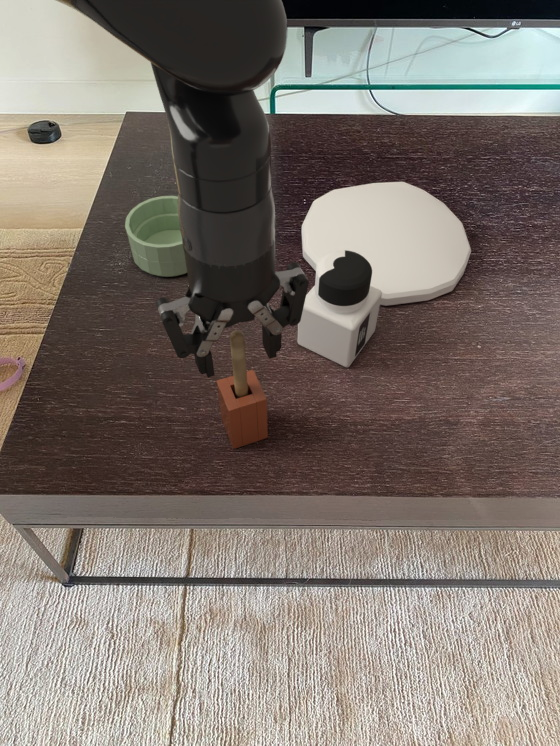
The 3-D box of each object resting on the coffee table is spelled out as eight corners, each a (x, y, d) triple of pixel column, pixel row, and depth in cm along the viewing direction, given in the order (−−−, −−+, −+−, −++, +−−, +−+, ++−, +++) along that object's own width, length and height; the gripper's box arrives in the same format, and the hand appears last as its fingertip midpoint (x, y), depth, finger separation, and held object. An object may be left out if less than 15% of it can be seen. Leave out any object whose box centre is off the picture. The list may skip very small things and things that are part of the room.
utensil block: (233, 449, 72) (228, 410, 65) (221, 420, 74) (216, 380, 68) (267, 437, 73) (266, 398, 66) (255, 409, 75) (253, 369, 69)
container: (375, 331, 83) (389, 257, 72) (347, 369, 79) (358, 297, 68) (325, 308, 85) (332, 234, 75) (296, 344, 81) (298, 271, 71)
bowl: (143, 287, 88) (135, 255, 83) (125, 238, 94) (117, 206, 89) (218, 267, 90) (215, 235, 85) (196, 221, 96) (192, 188, 92)
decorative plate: (283, 184, 95) (435, 163, 99) (283, 206, 99) (429, 185, 102) (327, 298, 81) (503, 269, 84) (325, 320, 84) (495, 291, 87)
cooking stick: (240, 435, 73) (232, 339, 59) (237, 426, 74) (227, 329, 60) (252, 431, 73) (245, 335, 59) (248, 422, 74) (241, 325, 60)
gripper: (293, 184, 53) (290, 316, 67) (129, 224, 50) (160, 354, 64) (329, 238, 49) (318, 368, 63) (152, 285, 46) (180, 411, 59)
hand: (239, 360), depth 63 cm, fingers open, 6 cm apart
